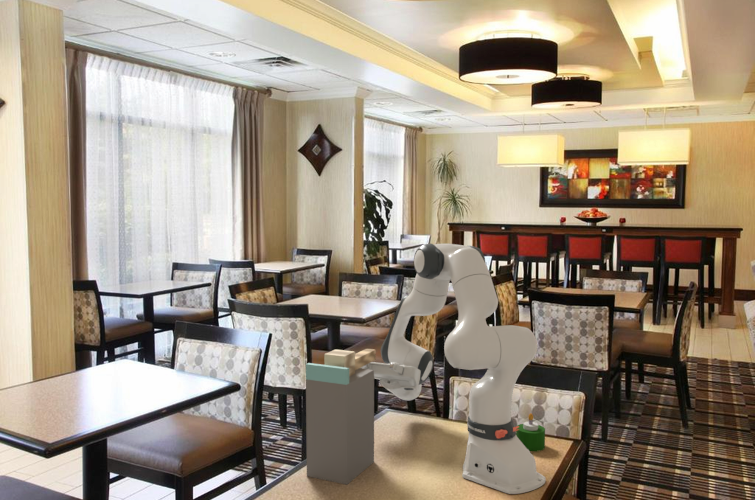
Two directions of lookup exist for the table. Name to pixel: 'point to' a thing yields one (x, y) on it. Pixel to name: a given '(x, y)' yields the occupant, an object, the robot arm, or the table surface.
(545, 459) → the table surface
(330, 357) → the mallet
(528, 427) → the candle
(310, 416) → the pedestal
